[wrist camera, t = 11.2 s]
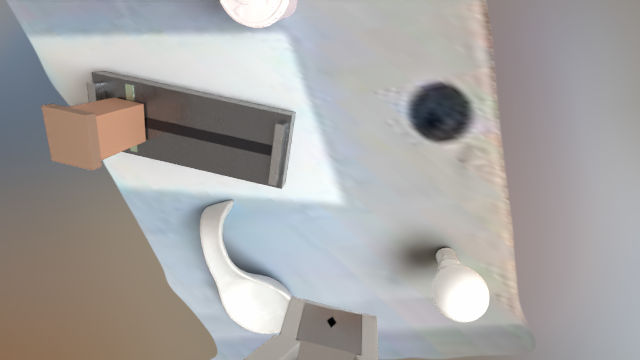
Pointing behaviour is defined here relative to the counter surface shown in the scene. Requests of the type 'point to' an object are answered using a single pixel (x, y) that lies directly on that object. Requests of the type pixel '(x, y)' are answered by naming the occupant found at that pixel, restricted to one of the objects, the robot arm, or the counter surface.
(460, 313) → the lightbulb
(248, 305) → the spoon rest
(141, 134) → the fader knob
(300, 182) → the counter surface
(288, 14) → the smoothie
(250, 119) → the fader track
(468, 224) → the counter surface
